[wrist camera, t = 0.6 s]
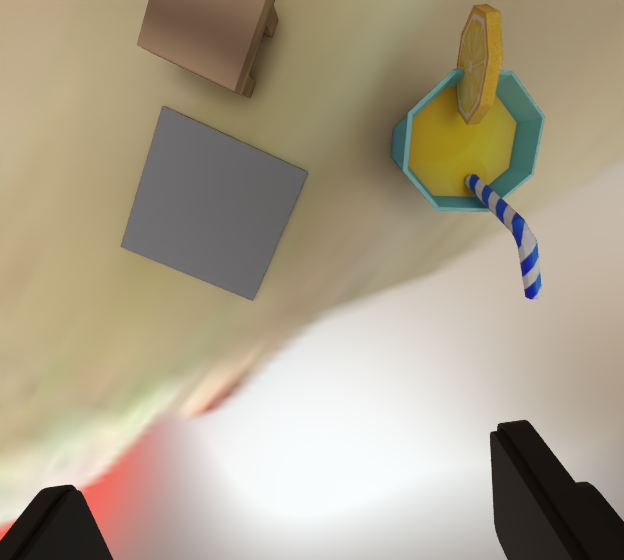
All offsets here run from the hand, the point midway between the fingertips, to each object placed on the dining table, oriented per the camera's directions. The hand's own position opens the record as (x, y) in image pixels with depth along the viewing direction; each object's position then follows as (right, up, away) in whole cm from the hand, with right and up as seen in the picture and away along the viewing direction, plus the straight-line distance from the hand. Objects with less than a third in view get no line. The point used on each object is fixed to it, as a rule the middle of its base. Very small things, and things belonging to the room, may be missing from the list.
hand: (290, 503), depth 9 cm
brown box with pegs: (-6, +22, +20) cm, 31 cm away
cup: (+9, +15, +23) cm, 29 cm away
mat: (-8, +11, +24) cm, 28 cm away
